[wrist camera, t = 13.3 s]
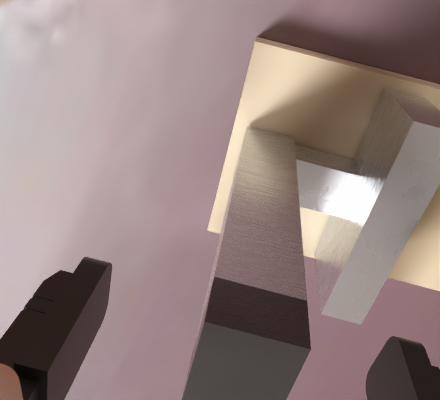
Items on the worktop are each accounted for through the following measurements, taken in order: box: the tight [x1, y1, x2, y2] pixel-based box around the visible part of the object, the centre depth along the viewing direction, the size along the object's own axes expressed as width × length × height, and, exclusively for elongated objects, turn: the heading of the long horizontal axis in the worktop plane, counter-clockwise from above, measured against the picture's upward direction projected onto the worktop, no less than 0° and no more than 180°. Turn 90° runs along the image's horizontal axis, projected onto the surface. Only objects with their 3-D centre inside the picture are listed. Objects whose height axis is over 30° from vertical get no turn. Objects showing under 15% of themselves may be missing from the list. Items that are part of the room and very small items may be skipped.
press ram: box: [182, 87, 440, 400], centre depth 16 cm, size 8×10×14 cm
